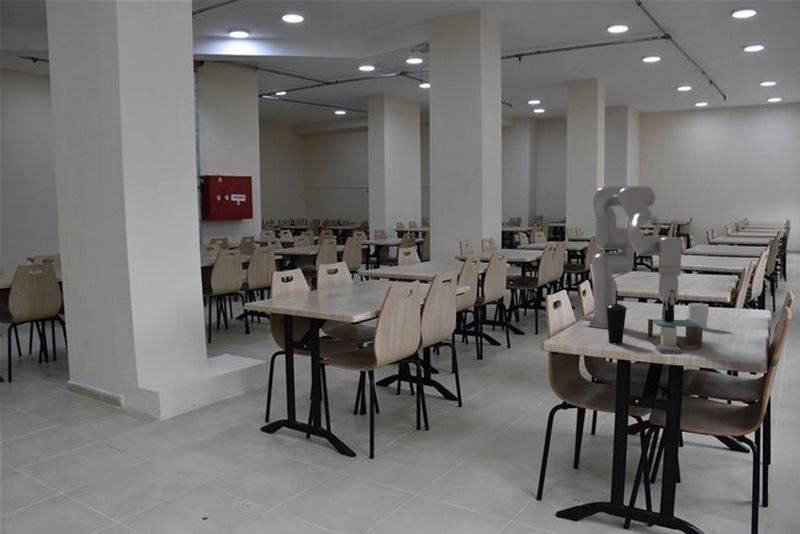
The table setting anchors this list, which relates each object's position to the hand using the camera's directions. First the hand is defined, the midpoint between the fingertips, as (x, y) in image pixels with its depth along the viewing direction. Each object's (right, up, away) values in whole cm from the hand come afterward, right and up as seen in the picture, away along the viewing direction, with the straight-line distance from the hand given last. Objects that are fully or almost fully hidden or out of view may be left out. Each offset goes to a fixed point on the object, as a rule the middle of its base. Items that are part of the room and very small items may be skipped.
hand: (667, 319), depth 245 cm
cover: (+2, -2, 0) cm, 3 cm away
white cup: (+27, -7, +35) cm, 44 cm away
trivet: (-4, -11, -9) cm, 14 cm away
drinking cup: (-17, -9, +7) cm, 21 cm away
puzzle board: (+4, -9, +4) cm, 11 cm away
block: (0, -10, -1) cm, 10 cm away
